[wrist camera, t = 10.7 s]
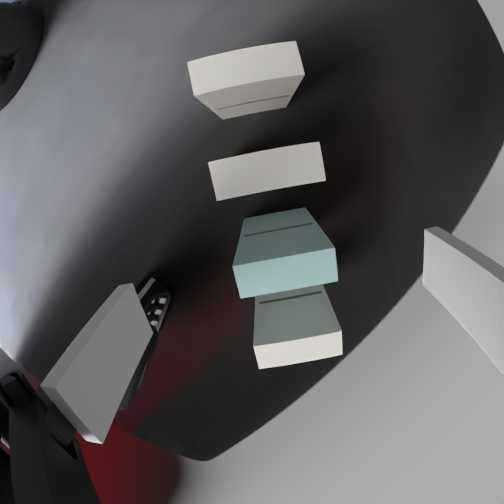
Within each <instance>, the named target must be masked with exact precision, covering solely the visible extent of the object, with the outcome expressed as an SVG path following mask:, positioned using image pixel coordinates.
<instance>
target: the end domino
mask: <svg viewBox="0 0 504 504" xmlns="http://www.w3.org/2000/svg"><path fill="white" fill-rule="evenodd" d="M253 347H254V351H255V355H256V358H257V362H258V366H259V369H263V368H270V367H277V366H284V365H290V364H296V363H302V362H307V361H313V360H318V359H323V358H328V357H333V356H338V355H342V331H341V328H340V326H339V323H338V321H337V318H336V316H335V313H334V311H333V308H332V306H331V303H330V301H329V299H328V296H327V294H326V291H325V289H324V287H323V284H320V285H315V286H310V287H304V288H299V289H293V290H288V291H282V292H276V293H270V294H264V295H259V296H256V299H255V321H254V343H253Z"/></svg>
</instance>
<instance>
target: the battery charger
mask: <svg viewBox="0 0 504 504" xmlns="http://www.w3.org/2000/svg"><path fill="white" fill-rule="evenodd" d="M135 291H136V293H137V296H138V298H139V301H140V303H141V306H142V308H143V310H144V313H145V315H146V317H147V320H148V322H149V324H150V327H151V329H152V331H153V335H152V337H151V339H150V341H149V343H148V345H147V347H146V349H145V351H144V353H143V355H142V357H141V359H140V361H139V364H138V366H137V368H136V370H135V372H134V374H133V376H132V378H131V381H130V383H129V385H128V387H127V389H126V392H125V394H124V396H123V398H122V400H121V403H120V405H119V407H118V409H117V410H123V409H125V408H127V407H128V406H129V405H130V403H131V401H132V400H133V398H134V396H135V394H136V392H137V390H138V389H139V387H140V385H141V383H142V381H143V379H144V377H145V375H146V372H147V369H148V366H149V363H150V360H151V358H152V355H153V353H154V350H155V347H156V345H157V341H158V331H159V329H160V326H161V324H162V321H163V319H164V316H165V314H166V311H167V308H168V306H169V303H170V300H171V292H170V291H169V289H168V288H167V287H166V286H164V285H163V284H161V283H160V282H158V281H156V280H155V279H154V278H150V277H144V278H143V279H142V281H141V282H140V283H139V284H138V285H137V287H136V288H135Z"/></svg>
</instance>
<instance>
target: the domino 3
mask: <svg viewBox="0 0 504 504" xmlns="http://www.w3.org/2000/svg"><path fill="white" fill-rule="evenodd" d="M233 270H234V274H235V278H236V282H237V286H238V290H239V294H240V298H246V297H252V296H259V295H264V294H270V293H276V292H282V291H288V290H293V289H299V288H304V287H310V286H315V285H320V284H325V283H330V282H335V281H338V273H337V262H336V252H335V247H334V246H333V244H332V243H331V241H330V240H329V239H328V237H327V236H326V234H325V233H324V232H323V230H322V229H321V228H320V226H319V225H318V224H317V222H316V221H315V220H314V218H313V217H312V216H311V214H310V213H309V212H308V210H307V209H306V208H305V207H304V208H298V209H293V210H287V211H282V212H276V213H271V214H265V215H260V216H255V217H250V218H245V219H244V222H243V226H242V230H241V234H240V238H239V242H238V246H237V250H236V254H235V258H234V262H233Z"/></svg>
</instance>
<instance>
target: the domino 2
mask: <svg viewBox="0 0 504 504" xmlns="http://www.w3.org/2000/svg"><path fill="white" fill-rule="evenodd" d="M208 164H209V169H210V173H211V177H212V182H213V186H214V191H215V195H216V199H217V201H219V200H224V199H229V198H233V197H238V196H243V195H248V194H253V193H259V192H264V191H269V190H275V189H280V188H286V187H291V186H297V185H303V184H309V183H315V182H321V181H326V177H325V171H324V165H323V159H322V153H321V148H320V143H319V142H312V143H306V144H297V145H291V146H285V147H279V148H273V149H268V150H262V151H257V152H252V153H247V154H242V155H238V156H233V157H228V158H225V159H221V160H216V161H212V162H208Z"/></svg>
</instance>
